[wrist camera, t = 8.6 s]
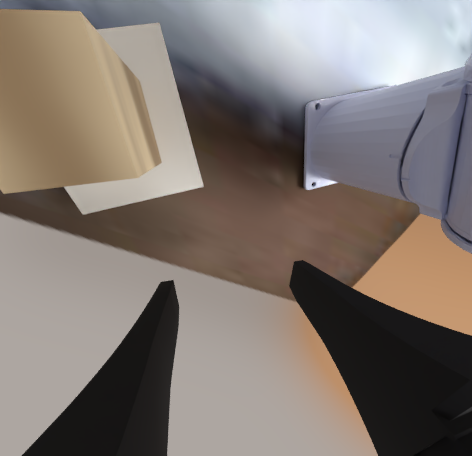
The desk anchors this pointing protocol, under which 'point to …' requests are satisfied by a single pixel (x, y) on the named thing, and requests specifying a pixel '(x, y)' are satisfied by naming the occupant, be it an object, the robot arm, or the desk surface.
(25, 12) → the oak block
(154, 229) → the desk surface
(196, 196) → the desk surface
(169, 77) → the base
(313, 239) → the desk surface
